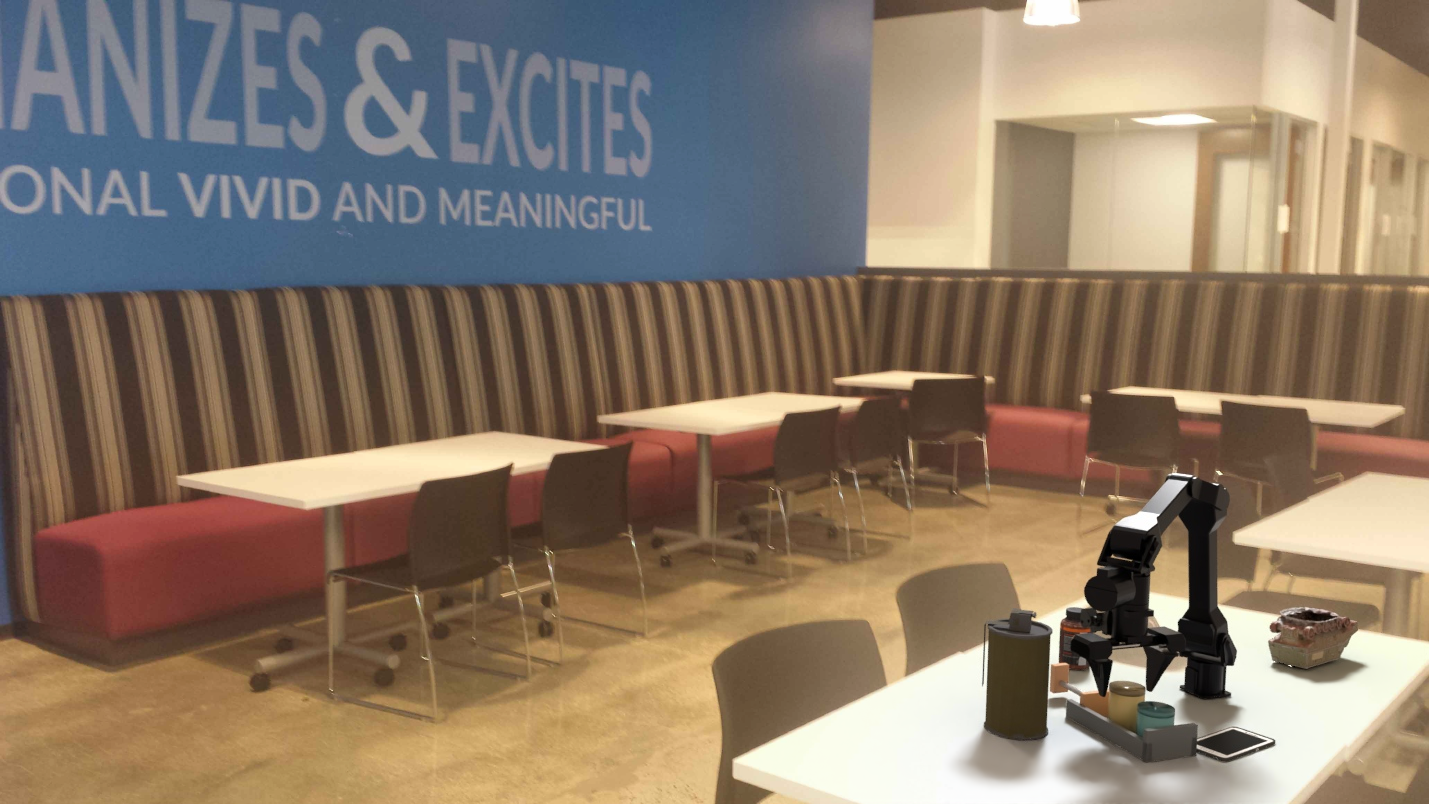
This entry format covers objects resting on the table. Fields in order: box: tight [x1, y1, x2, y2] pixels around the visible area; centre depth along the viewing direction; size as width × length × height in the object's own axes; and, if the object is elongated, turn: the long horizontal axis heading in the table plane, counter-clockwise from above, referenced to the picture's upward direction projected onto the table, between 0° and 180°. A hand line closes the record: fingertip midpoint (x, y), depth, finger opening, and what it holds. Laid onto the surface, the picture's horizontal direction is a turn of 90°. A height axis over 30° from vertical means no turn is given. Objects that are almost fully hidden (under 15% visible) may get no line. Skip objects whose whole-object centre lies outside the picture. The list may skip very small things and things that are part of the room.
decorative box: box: [1267, 606, 1359, 670], centre depth 244 cm, size 13×20×10 cm, turn 117°
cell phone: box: [1196, 726, 1276, 763], centre depth 197 cm, size 8×15×1 cm, turn 125°
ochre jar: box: [1107, 680, 1147, 734], centre depth 201 cm, size 6×6×8 cm
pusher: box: [1049, 662, 1109, 718], centre depth 213 cm, size 7×13×6 cm, turn 19°
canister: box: [981, 608, 1053, 741], centre depth 202 cm, size 11×10×20 cm
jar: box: [1136, 700, 1176, 738], centre depth 194 cm, size 6×6×7 cm
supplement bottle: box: [1058, 606, 1091, 671], centre depth 236 cm, size 6×6×11 cm
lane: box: [1065, 698, 1199, 763], centre depth 200 cm, size 10×21×5 cm, turn 19°
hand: (1125, 693), depth 201 cm, fingers open, 9 cm apart
